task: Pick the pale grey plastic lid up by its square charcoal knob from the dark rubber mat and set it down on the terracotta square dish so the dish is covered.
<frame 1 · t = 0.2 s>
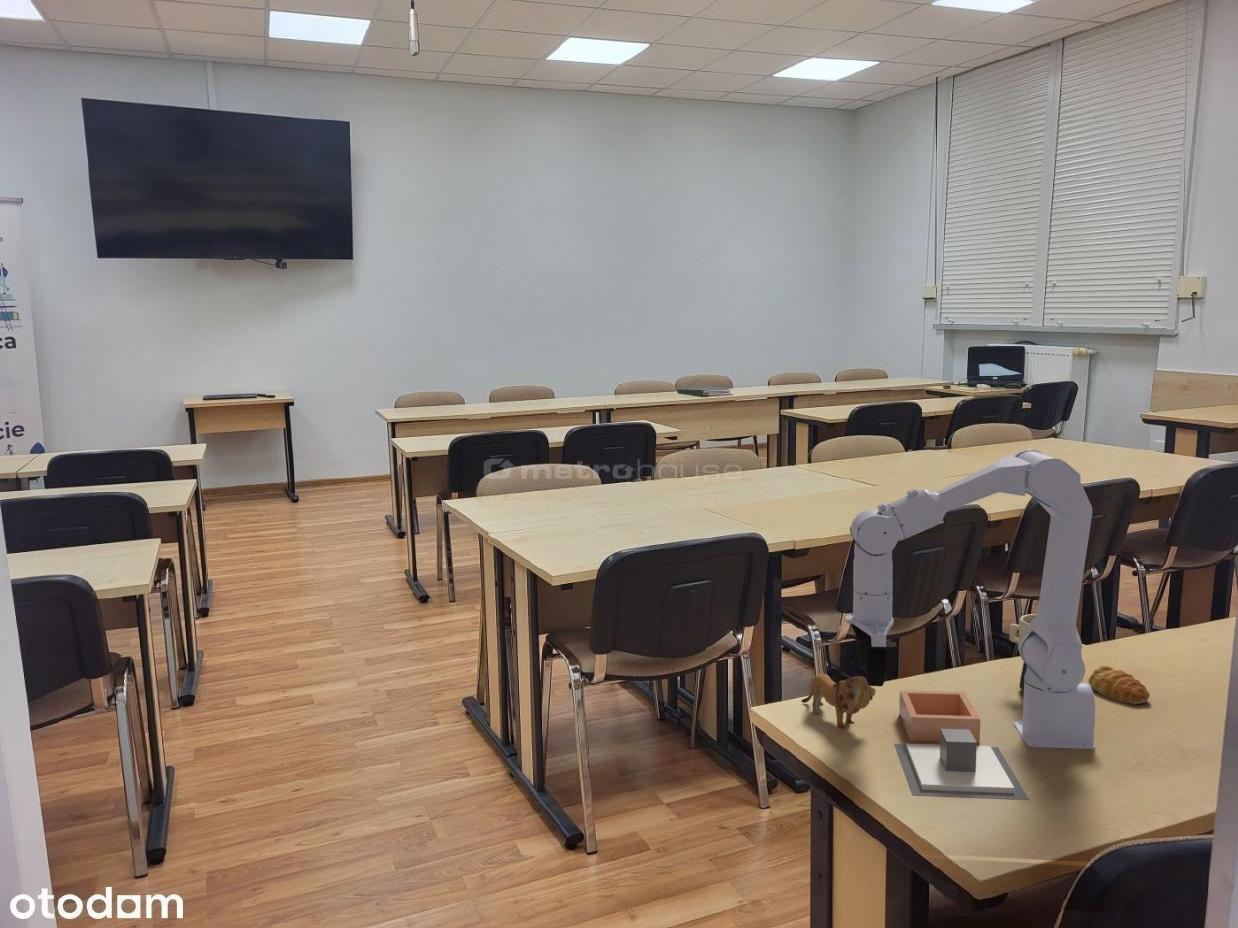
hand: (872, 675, 137), 10 cm above the table, tool pointing down, fingers open, 7 cm apart
pastry: (1118, 695, 152), on the table
dish: (937, 731, 139), on the table
lion figurine: (837, 721, 145), on the table
mat: (957, 772, 127), on the table
character mug: (1039, 694, 152), on the table
lid: (957, 769, 127), resting on mat
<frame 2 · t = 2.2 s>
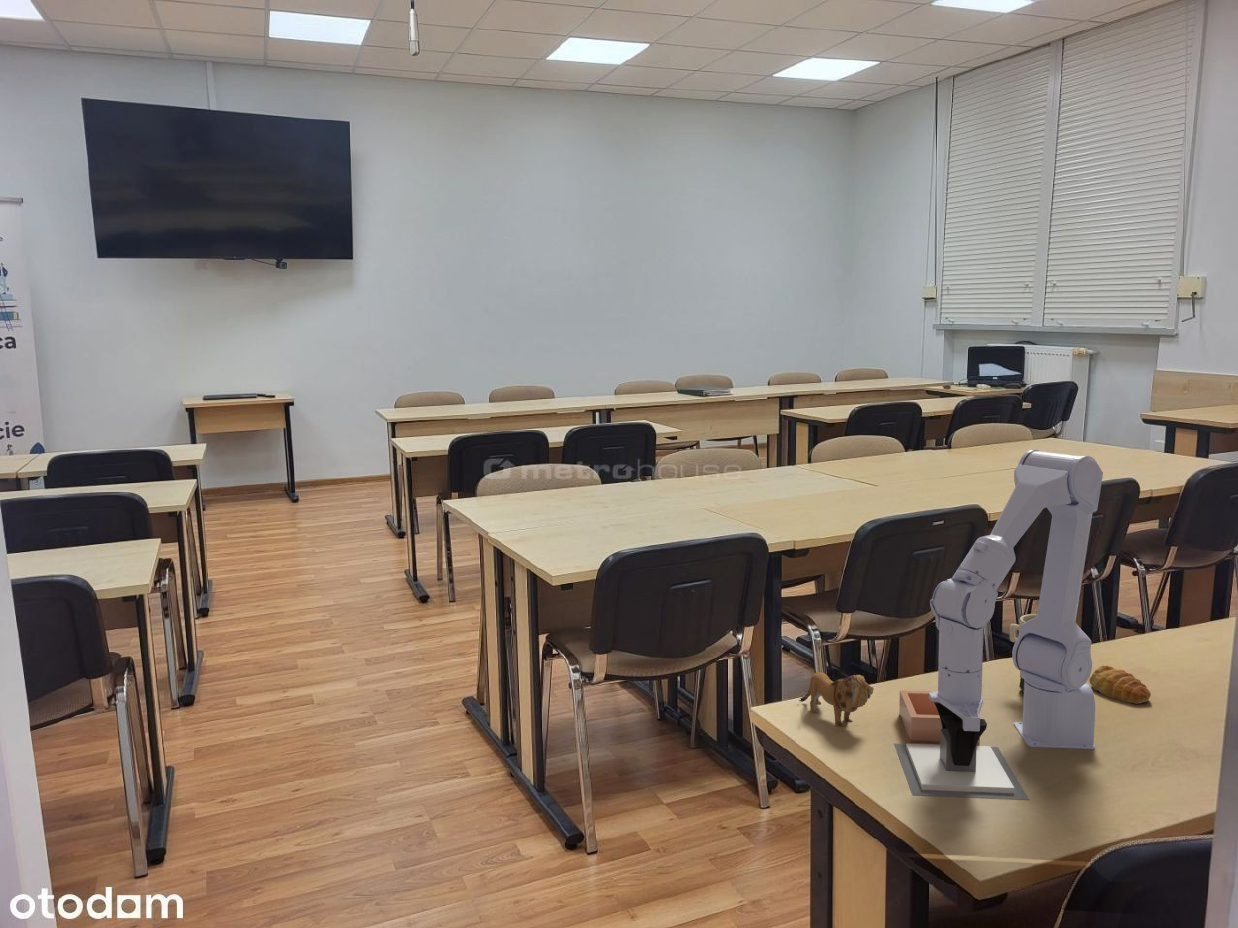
hand: (957, 756, 126), 2 cm above the table, tool pointing down, fingers closed on lid, 4 cm apart
lid: (957, 769, 127), resting on mat, touching gripper
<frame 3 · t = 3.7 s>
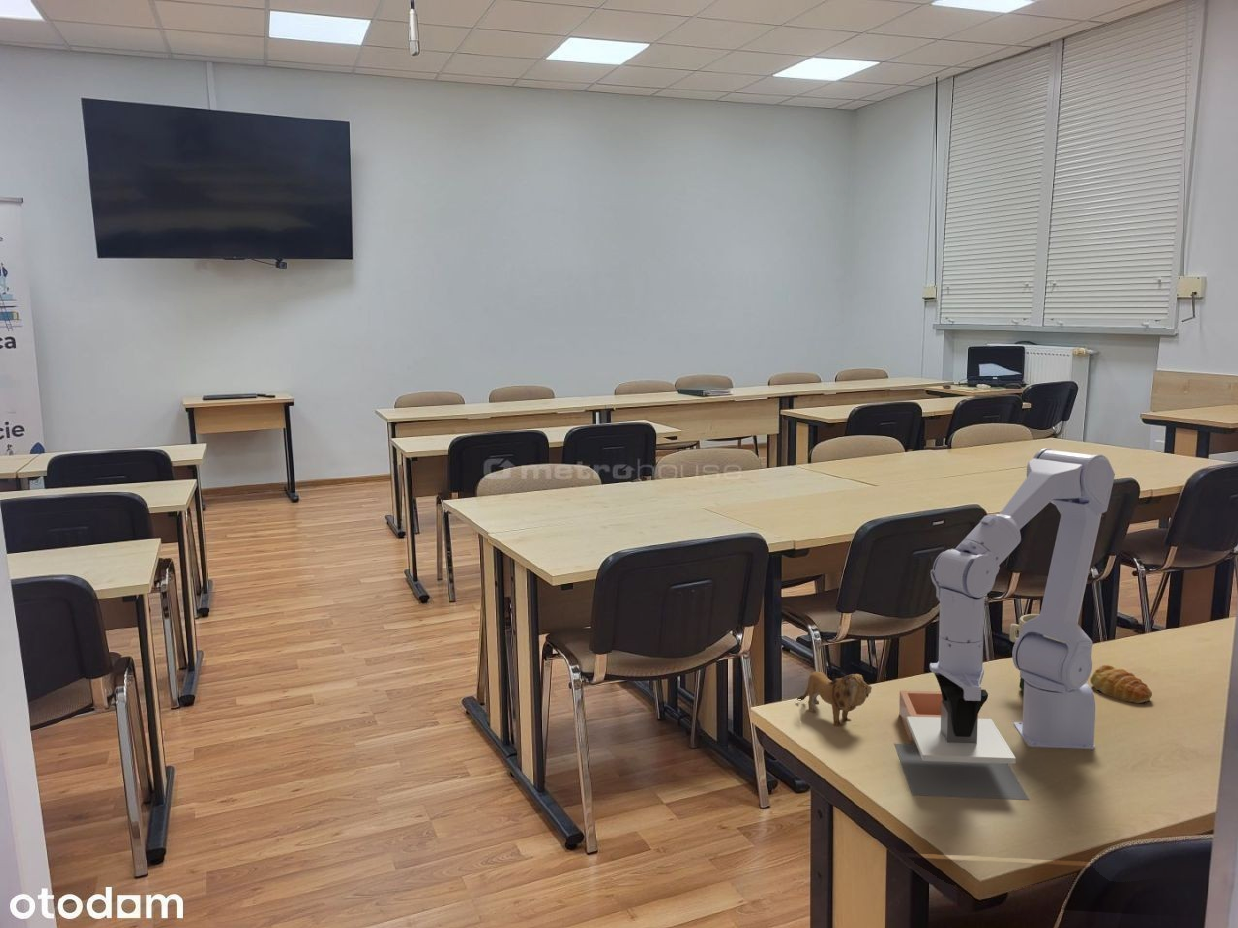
hand: (958, 728, 126), 7 cm above the table, tool pointing down, fingers closed on lid, 4 cm apart
lid: (958, 741, 126), point 5 cm above the table, touching gripper
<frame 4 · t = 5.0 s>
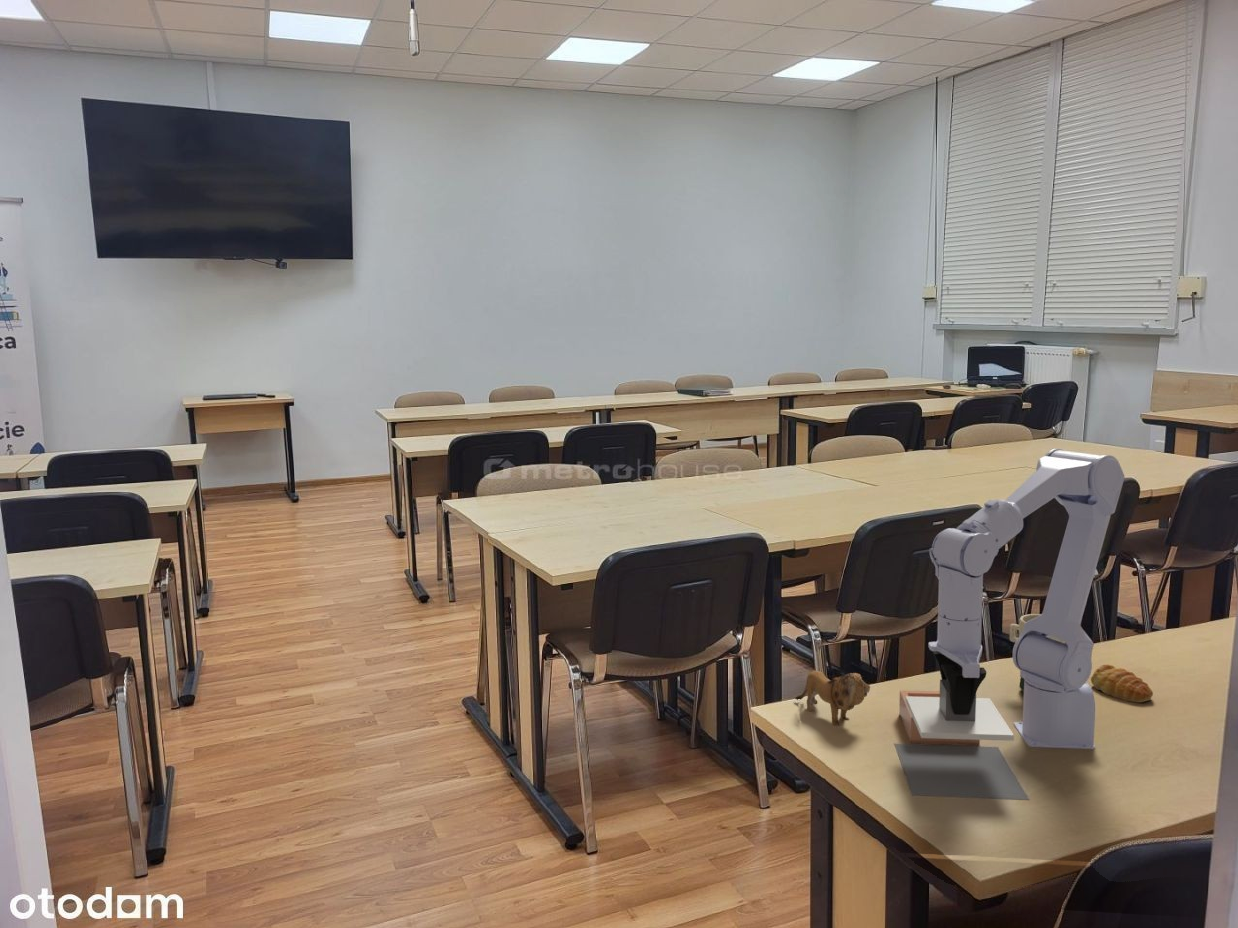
hand: (957, 706, 126), 9 cm above the table, tool pointing down, fingers closed on lid, 4 cm apart
lid: (956, 720, 127), point 7 cm above the table, touching gripper
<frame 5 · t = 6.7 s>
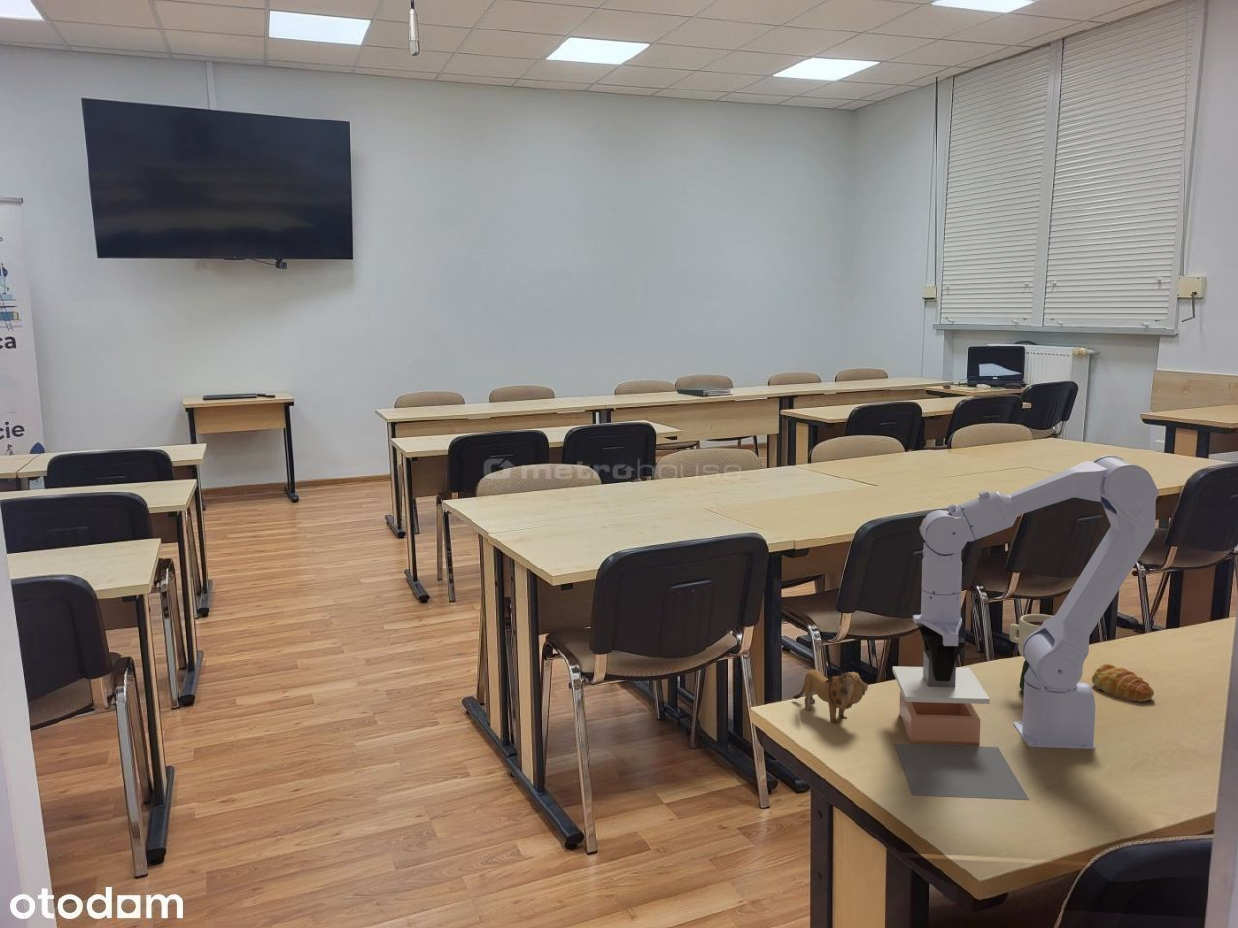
hand: (939, 674, 138), 9 cm above the table, tool pointing down, fingers closed on lid, 4 cm apart
lid: (938, 686, 138), point 7 cm above the table, touching gripper
when the fingers open (7 cm above the table, at t = 8.0 s): lid stays where it is, resting on dish.
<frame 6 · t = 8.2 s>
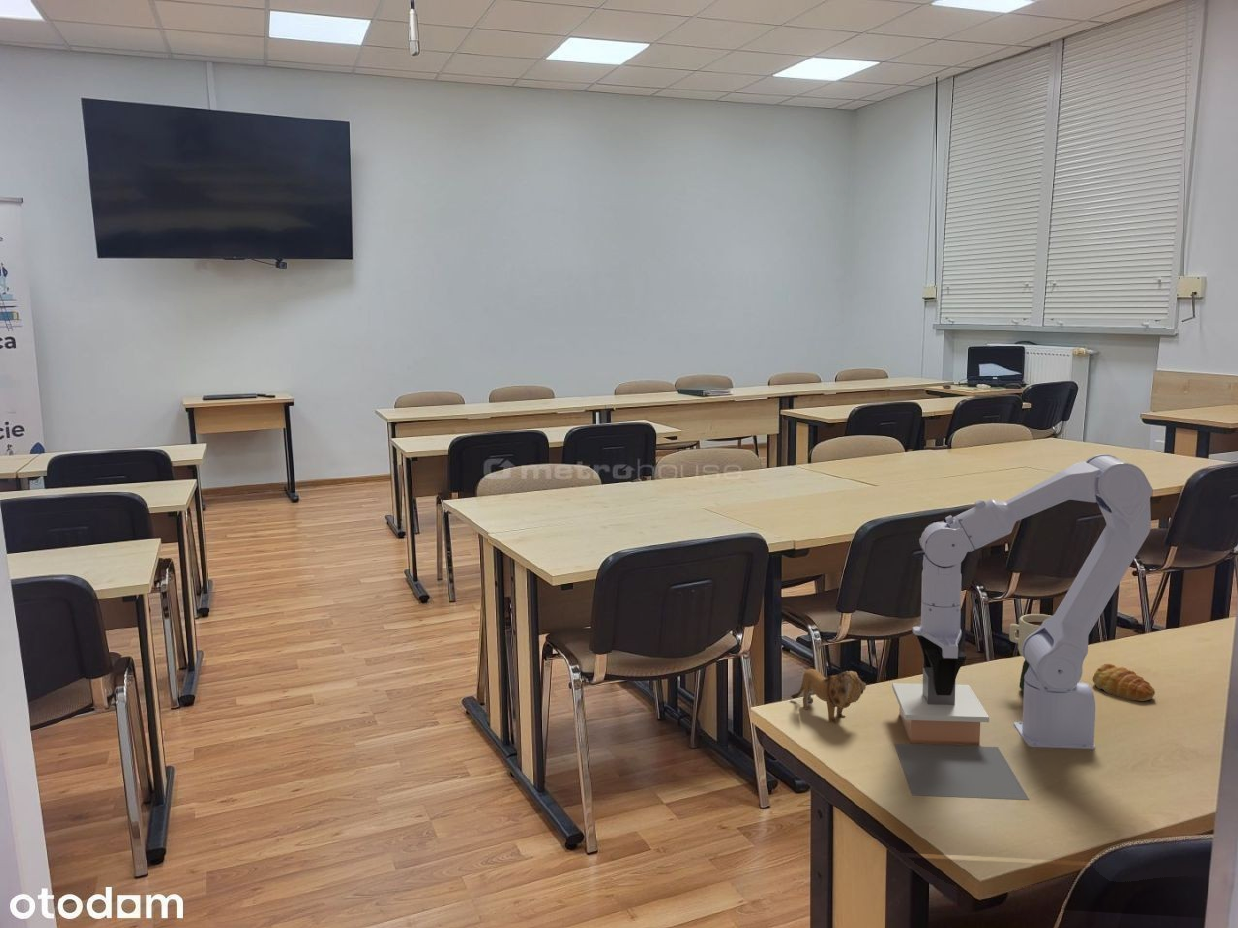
hand: (938, 686, 138), 8 cm above the table, tool pointing down, fingers open, 6 cm apart
lid: (938, 704, 139), point 4 cm above the table, touching dish
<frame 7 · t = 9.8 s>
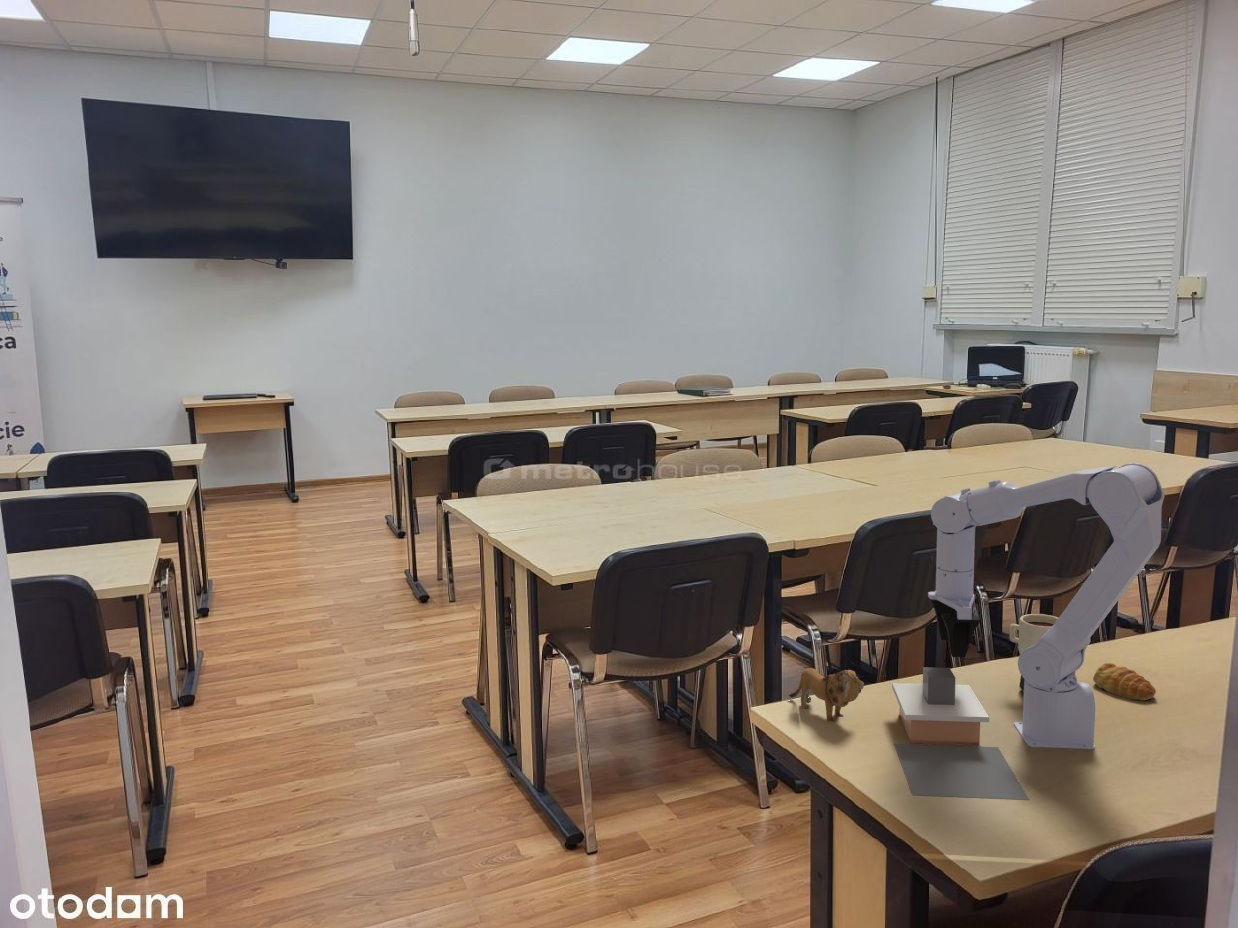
hand: (952, 647, 146), 10 cm above the table, tool pointing down, fingers open, 7 cm apart
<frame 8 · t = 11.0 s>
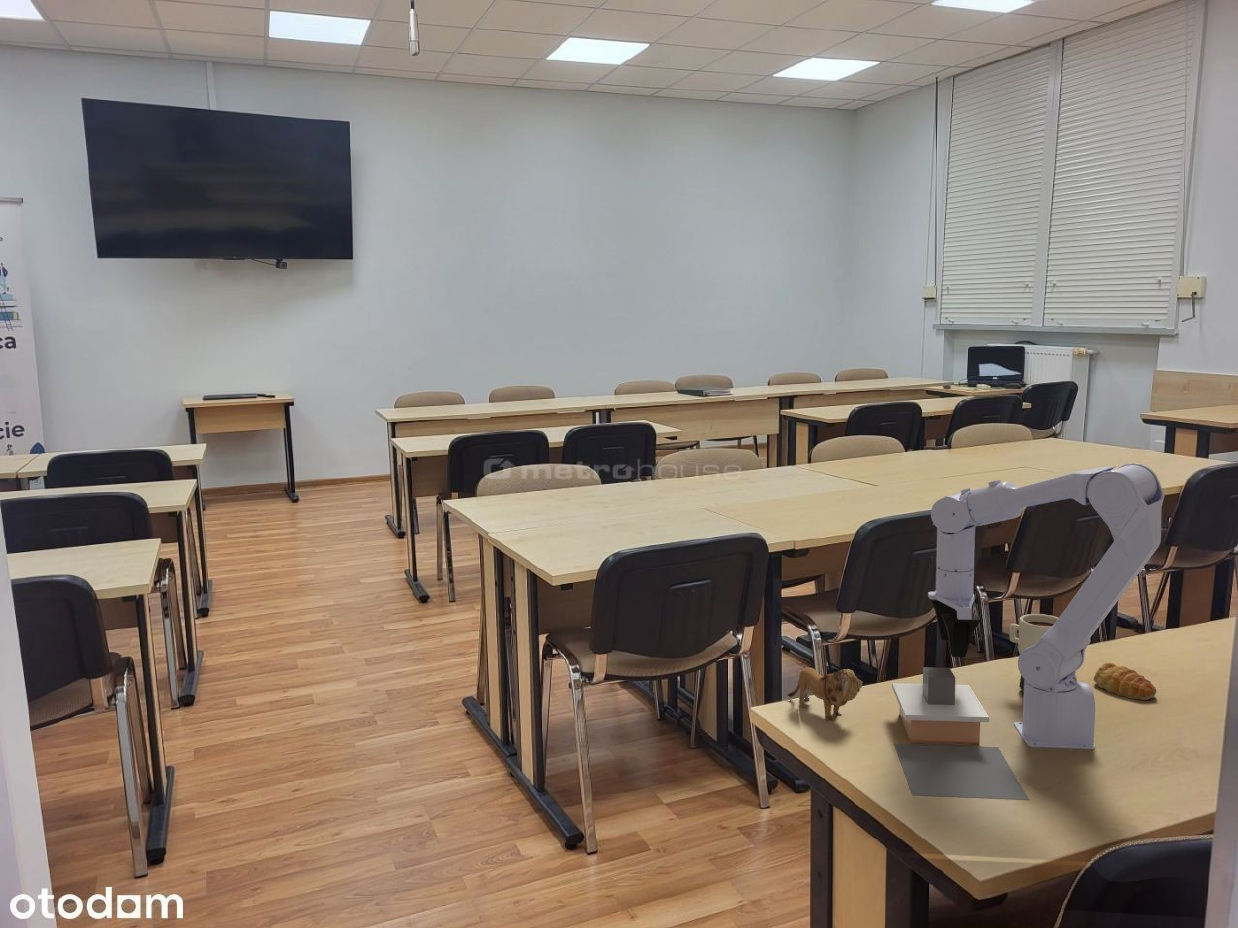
hand: (952, 647, 146), 10 cm above the table, tool pointing down, fingers open, 7 cm apart
at the end: lid 0.0 cm off-centre on the dish, point 4.5 cm above the dish's base; lid tilted 0°; the gripper is holding nothing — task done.
